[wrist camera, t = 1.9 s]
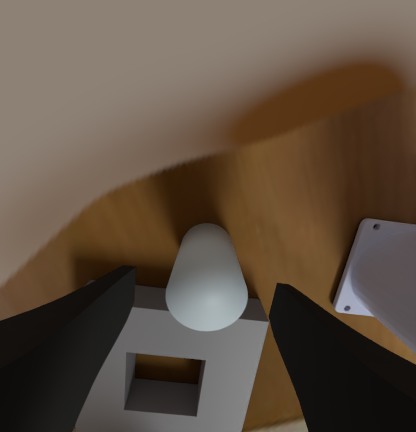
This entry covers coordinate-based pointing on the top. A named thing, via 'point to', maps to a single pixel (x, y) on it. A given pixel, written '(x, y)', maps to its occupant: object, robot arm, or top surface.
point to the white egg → (206, 280)
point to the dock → (173, 391)
